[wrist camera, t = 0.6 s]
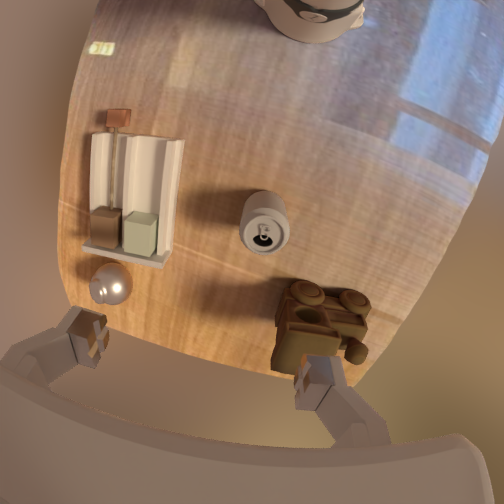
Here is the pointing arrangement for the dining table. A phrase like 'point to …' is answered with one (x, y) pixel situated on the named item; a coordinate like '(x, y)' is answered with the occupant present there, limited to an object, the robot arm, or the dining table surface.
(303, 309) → the wooden toy train
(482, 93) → the dining table surface
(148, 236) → the sage block
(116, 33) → the dining table surface
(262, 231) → the can
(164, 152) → the lane shelf
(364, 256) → the dining table surface
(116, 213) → the brown block pusher rod
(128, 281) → the grey round lump
